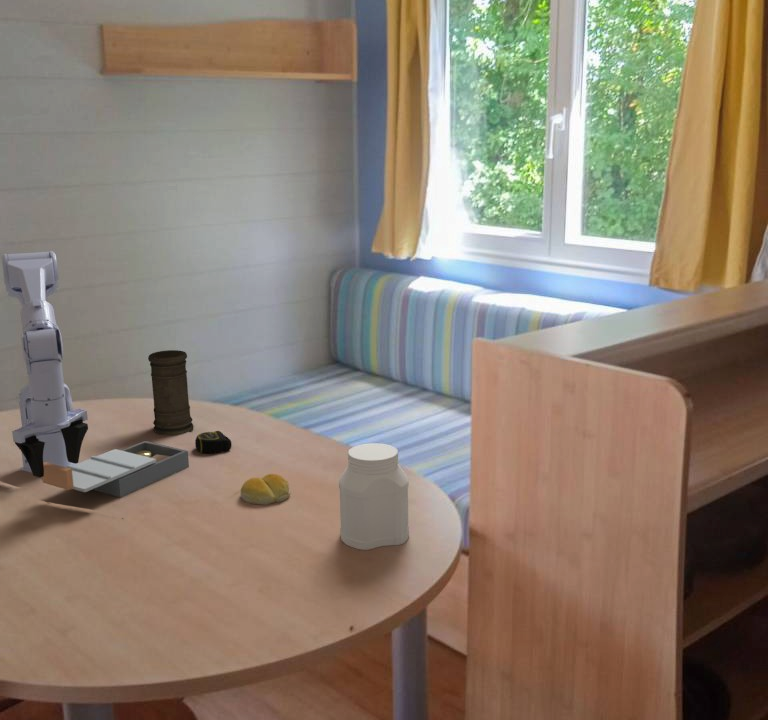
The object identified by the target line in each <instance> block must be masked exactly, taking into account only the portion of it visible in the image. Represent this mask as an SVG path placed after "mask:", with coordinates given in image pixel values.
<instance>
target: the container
mask: <svg viewBox="0 0 768 720" xmlns="http://www.w3.org/2000/svg"><path fill="white" fill-rule="evenodd" d="M187 354H188V353H187V352H186V351H183V350H177V349H176V350H175V349H174V350H173V349H172V350H171V349H169V350H161V351H155V352H152V353H151V354H149V355H148V358H147V361H149V362H150V363H149V365H150V369H151V370H150V371H151V372H150V376H151V383H152V385H151V386H152V396H153V397H152V398H153V415H154V421H153V422H152V424H153V425H154V427H153V432H154V433H155V434H157V435H160V436H179V435H184V434H188V433H192V432H193V430H194V427H195V426H194V424H193V422H192V421H193V418H192V416H191V406H190V399H189V392H188V390H189V389H188V388H189V386H188V377H187V373H188V371H187V369H186V368H187V367H186V366H187V365H186V364H187V360H186V359H188V355H187Z"/></svg>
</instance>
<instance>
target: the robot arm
mask: <svg viewBox="0 0 768 720" xmlns="http://www.w3.org/2000/svg"><path fill="white" fill-rule="evenodd" d="M1 264H2V271H3V272H2V273H3V281H4V285H5V289H6V290H5V291H6V292H7V293H8V294H7V295H8V296H9V297H11V298H15V299H17V300H18V301H19V303H20V305H21V308H20V321H21V329H22V330H21V331H22V334H21V335H20V336H21V337H20V341H21V348H22V358H23V362H24V363H25V368H26V369H25V370H26V373H27V375H28V376H27V379H28V383H26V385H24V386H23V387H22V388H21V389H20V390H19V393H18V397H19V401H18V404H19V412H20V422H21V427H19V428H17V429H14V430H12V433H11V434H12V440H13V443H14V444H15V445H16V447H17V448H18V449H19V450H20V453H21V459H22V467H20V468H19V471H25V472H29V473H31V474H32V476H34V477H36V478H42V477H43V476H44V466H43V463H44V462H48V463H52V464H55V465H59V466H63V467H67V466H68V465H71V466H73V465H75V464H78V463H79V459H80V454H81V453H80V452H81V449H82V444H83V441H84V438H85V435H86V433H87V432H88V430H89V424H88V423H85V422H86V421H88V420H89V419H88V410H87V409H83V408H77V409H73V407H74V406H73V400H72V396H71V392H70V388H69V386H68V385H67V384H66V383H65V382H64V381H65V380H64V373H63V363H62V362H63V360H64V346H63V337H62V333H61V330H60V328H59V326H58V324H57V321H56V316H55V315H56V314H55V310H54V307H53V305H52V304H51V303H50V302H48V301H47V300H48V298H49V296H51V295H53V294H56V293H57V290H58V287H59V286H58V285H59V282H58V281H59V269H58V260H57V255H56V253H55V252H54V251H53V250H49V251H41V252H38V251H37V252H25V253H24V252H23V253H10V254H9V253H8V254H7V253H3V255H2V256H1ZM59 356H60V358H61V359H60V358H59Z"/></svg>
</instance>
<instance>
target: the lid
mask: <svg viewBox="0 0 768 720" xmlns="http://www.w3.org/2000/svg"><path fill="white" fill-rule="evenodd" d="M121 450H122V449H116V448H114V449H112V450H109V451H107V452H103V453H102V454H98V455H97V456H96V455H91V456H90V458H88V459H85V460H84V461H83V460H82V461H81V462H78V464H75V465H73V466H71V465H68V466H67V467H63V466H59V465H55V464H52V463H48V462H44V463H43V466H44V476H43V477H41V480H42V484H46V485H49V486H53V487H56V488H60V489H64V490H67V491H70V490H75V491H79V492H82V493H87V492H89V491H91V490H92V489H94V488H96V487H99V486H101V485H103V484H106V483H108V482H110V481H113V480H115V479H117V478H120V477H122V476H125V475H127V474H129V473H132V472H134V471H136V470H139V469H141V468H143V467H146V466H148V465H150V464H153V463H155V462H156V459H154V458H150V457H146V456H142V455H137V454H133V453H129V452H125V451H121ZM92 491H93V490H92Z"/></svg>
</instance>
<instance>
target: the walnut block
mask: <svg viewBox="0 0 768 720" xmlns="http://www.w3.org/2000/svg"><path fill="white" fill-rule="evenodd" d="M168 457H170V456H165V455H158V454H157V455H155V456H153V457H151V458H154V459H156V462H159V461H161V460H163V459H166V458H168ZM156 462H155V463H156ZM153 464H154V463H153ZM150 465H152V464H150ZM148 466H149V465H148ZM146 467H147V466H146Z"/></svg>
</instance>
